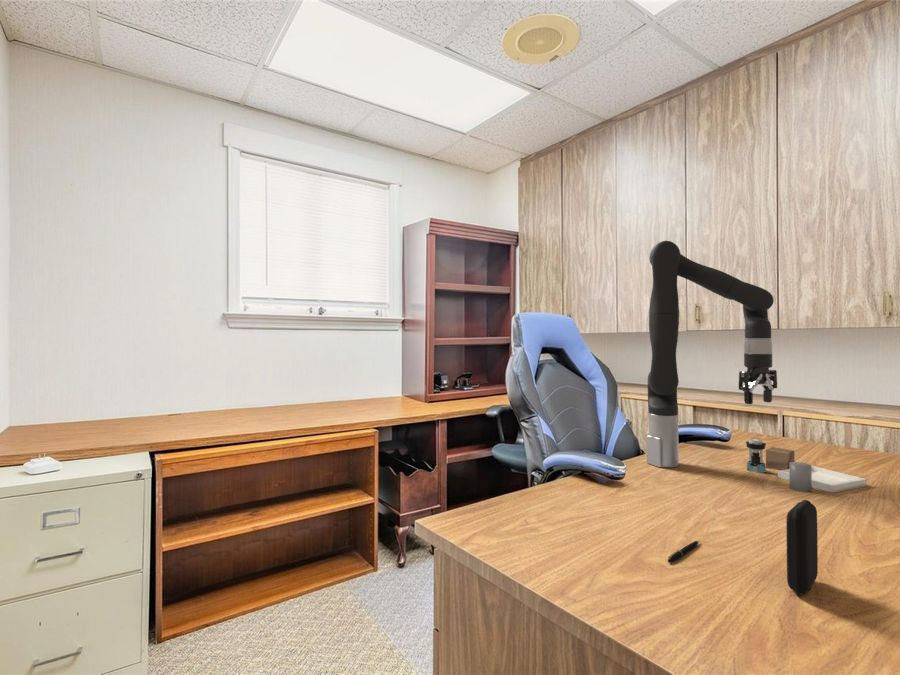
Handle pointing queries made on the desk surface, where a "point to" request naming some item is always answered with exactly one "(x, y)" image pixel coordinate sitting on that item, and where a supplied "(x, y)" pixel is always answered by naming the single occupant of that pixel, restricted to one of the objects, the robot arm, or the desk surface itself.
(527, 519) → the desk surface
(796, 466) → the dark grey cylinder
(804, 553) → the carrying case or bag
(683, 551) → the fountain pen
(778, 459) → the walnut block
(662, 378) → the robot arm
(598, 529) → the desk surface
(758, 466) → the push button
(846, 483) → the grey tray
